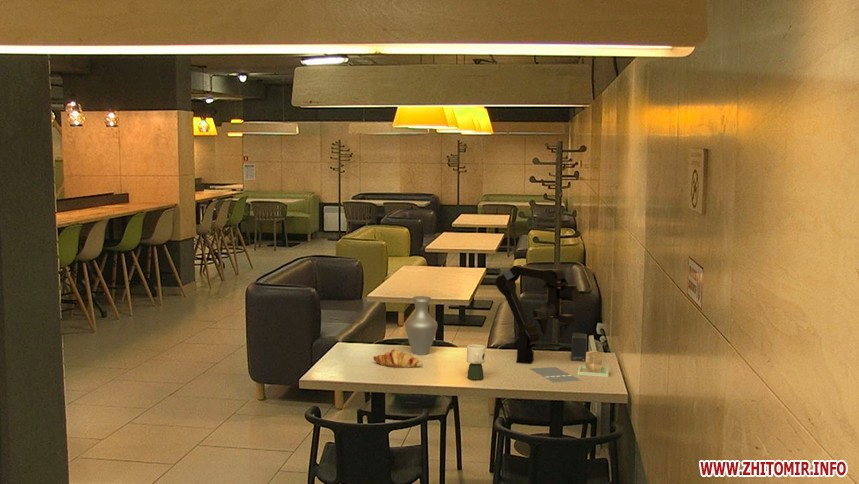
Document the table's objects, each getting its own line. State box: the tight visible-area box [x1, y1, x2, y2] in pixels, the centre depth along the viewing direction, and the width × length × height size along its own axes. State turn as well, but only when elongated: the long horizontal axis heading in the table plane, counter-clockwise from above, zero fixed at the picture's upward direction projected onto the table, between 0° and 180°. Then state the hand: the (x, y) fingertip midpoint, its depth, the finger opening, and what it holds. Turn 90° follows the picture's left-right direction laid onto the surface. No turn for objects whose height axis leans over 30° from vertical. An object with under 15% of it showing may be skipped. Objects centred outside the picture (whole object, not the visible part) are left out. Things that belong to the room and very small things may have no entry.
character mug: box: [466, 344, 486, 381], centre depth 329 cm, size 11×7×13 cm, turn 1°
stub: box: [585, 350, 603, 373], centre depth 338 cm, size 4×5×9 cm
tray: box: [577, 364, 610, 378], centre depth 338 cm, size 12×12×2 cm
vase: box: [404, 295, 438, 356], centre depth 370 cm, size 14×14×25 cm
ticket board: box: [529, 366, 582, 383], centre depth 333 cm, size 22×12×2 cm, turn 19°
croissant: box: [372, 349, 424, 369], centre depth 348 cm, size 21×10×8 cm, turn 78°
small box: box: [570, 332, 588, 362], centre depth 368 cm, size 11×6×10 cm, turn 168°
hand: (552, 336), depth 350 cm, fingers open, 9 cm apart
